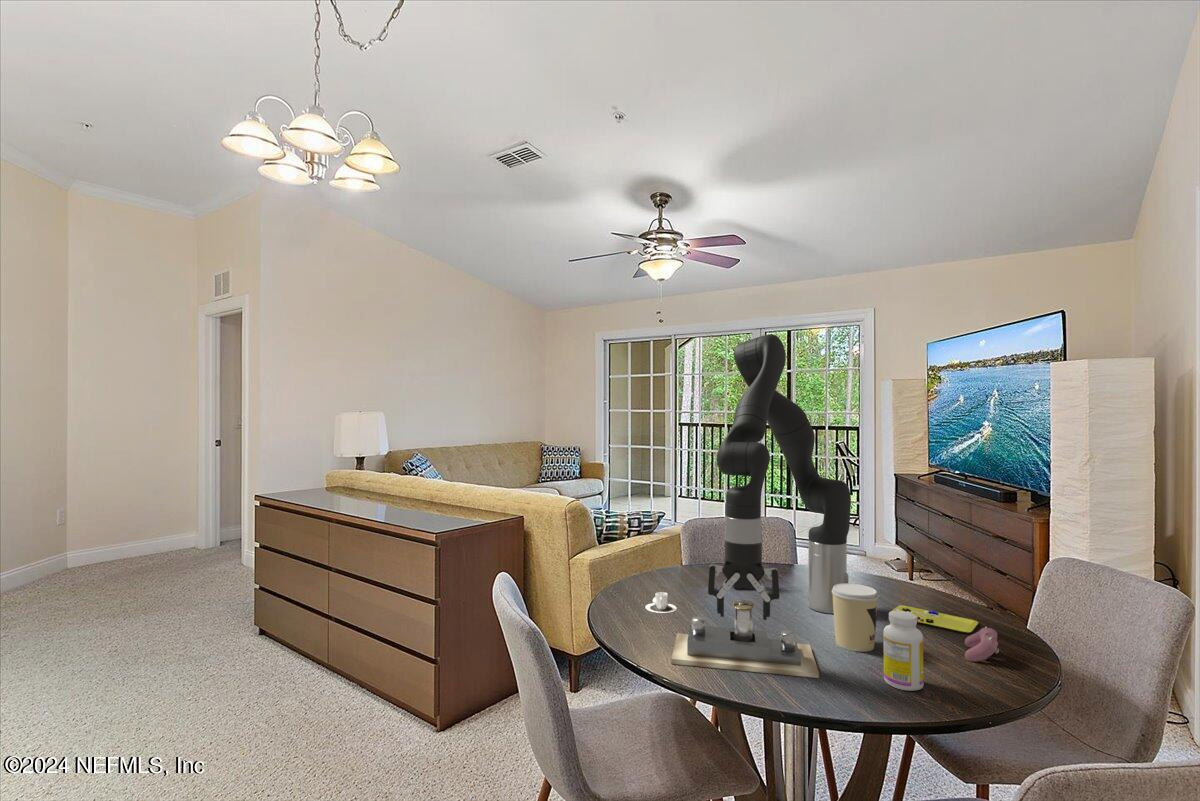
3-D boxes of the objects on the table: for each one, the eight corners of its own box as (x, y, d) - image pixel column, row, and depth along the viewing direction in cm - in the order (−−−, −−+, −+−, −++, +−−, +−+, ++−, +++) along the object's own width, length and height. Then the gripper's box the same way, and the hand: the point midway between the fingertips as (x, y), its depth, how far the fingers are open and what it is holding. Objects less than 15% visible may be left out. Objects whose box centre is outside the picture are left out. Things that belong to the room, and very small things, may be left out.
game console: (979, 625, 144) (979, 619, 144) (971, 638, 135) (971, 631, 135) (898, 608, 156) (898, 603, 156) (886, 619, 147) (886, 613, 147)
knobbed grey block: (795, 647, 125) (796, 619, 125) (800, 665, 117) (801, 634, 117) (690, 638, 130) (690, 610, 130) (687, 655, 121) (687, 625, 121)
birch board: (809, 649, 127) (809, 644, 127) (819, 678, 113) (819, 672, 113) (677, 637, 133) (677, 633, 133) (671, 663, 119) (671, 658, 119)
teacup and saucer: (654, 602, 159) (654, 586, 159) (682, 606, 156) (682, 591, 156) (640, 611, 152) (640, 595, 152) (669, 617, 148) (669, 600, 148)
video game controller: (986, 673, 120) (1005, 645, 118) (962, 658, 122) (980, 630, 120) (984, 656, 128) (1002, 629, 127) (962, 642, 130) (979, 616, 129)
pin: (753, 648, 125) (753, 600, 125) (754, 656, 121) (754, 606, 121) (732, 646, 126) (733, 598, 126) (733, 654, 122) (733, 605, 122)
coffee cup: (880, 656, 124) (880, 597, 124) (832, 649, 127) (832, 592, 127) (876, 639, 133) (876, 585, 133) (831, 634, 136) (831, 581, 136)
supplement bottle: (908, 675, 115) (908, 608, 115) (931, 691, 108) (931, 620, 109) (876, 677, 114) (876, 609, 114) (897, 693, 108) (897, 621, 108)
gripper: (777, 536, 126) (777, 613, 126) (708, 533, 129) (708, 608, 129) (780, 544, 118) (780, 626, 118) (707, 540, 121) (707, 620, 121)
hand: (743, 617), depth 123 cm, fingers open, 8 cm apart
